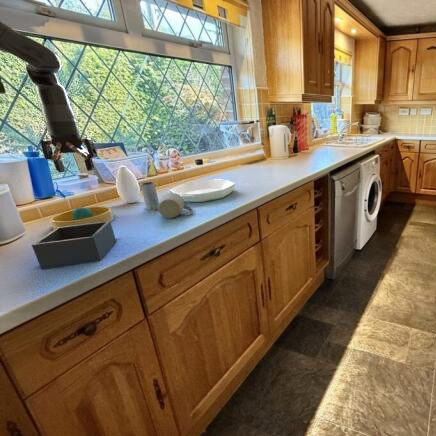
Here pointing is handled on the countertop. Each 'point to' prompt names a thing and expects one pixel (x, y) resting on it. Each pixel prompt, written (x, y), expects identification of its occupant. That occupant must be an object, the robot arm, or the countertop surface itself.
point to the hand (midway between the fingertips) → (76, 171)
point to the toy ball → (81, 213)
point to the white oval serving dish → (204, 190)
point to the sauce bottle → (127, 185)
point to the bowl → (98, 216)
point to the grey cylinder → (150, 195)
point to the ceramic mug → (173, 206)
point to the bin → (74, 245)
